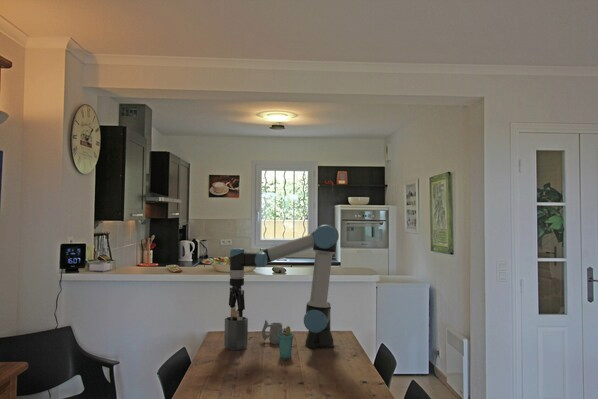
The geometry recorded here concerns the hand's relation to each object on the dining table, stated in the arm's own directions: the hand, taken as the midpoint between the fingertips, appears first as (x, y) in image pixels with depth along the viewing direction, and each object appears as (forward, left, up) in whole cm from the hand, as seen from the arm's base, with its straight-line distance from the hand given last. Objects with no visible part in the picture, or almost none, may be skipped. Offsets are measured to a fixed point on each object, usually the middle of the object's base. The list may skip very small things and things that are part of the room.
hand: (236, 321), depth 243 cm
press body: (+2, 0, -14) cm, 14 cm away
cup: (-28, -14, -14) cm, 34 cm away
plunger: (0, 0, -12) cm, 12 cm away
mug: (+1, -22, -14) cm, 26 cm away
